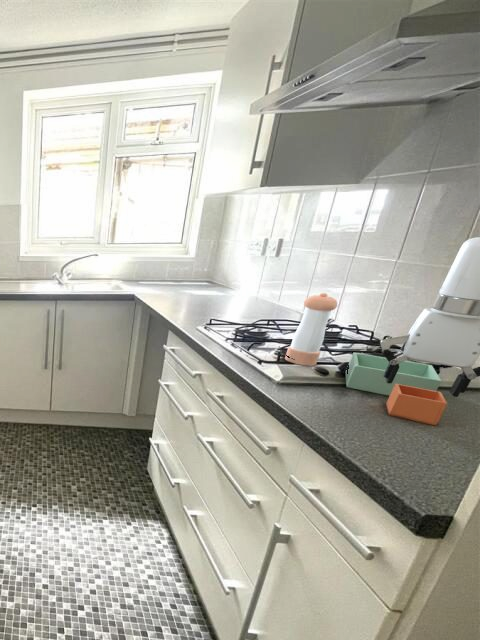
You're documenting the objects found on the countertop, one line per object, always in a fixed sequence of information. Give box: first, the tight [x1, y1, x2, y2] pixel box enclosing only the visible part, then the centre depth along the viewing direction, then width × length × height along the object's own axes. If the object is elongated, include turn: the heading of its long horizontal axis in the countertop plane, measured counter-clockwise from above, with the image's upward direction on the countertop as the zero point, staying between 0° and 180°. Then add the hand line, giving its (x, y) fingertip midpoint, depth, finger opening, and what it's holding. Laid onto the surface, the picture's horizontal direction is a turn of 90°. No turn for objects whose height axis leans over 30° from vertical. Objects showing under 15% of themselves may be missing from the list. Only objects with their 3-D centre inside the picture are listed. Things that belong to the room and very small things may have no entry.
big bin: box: [345, 352, 442, 397], centre depth 100 cm, size 14×12×6 cm
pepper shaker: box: [284, 292, 338, 367], centre depth 114 cm, size 7×7×19 cm
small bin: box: [385, 384, 448, 426], centre depth 87 cm, size 7×7×5 cm
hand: (419, 387), depth 86 cm, fingers open, 9 cm apart
